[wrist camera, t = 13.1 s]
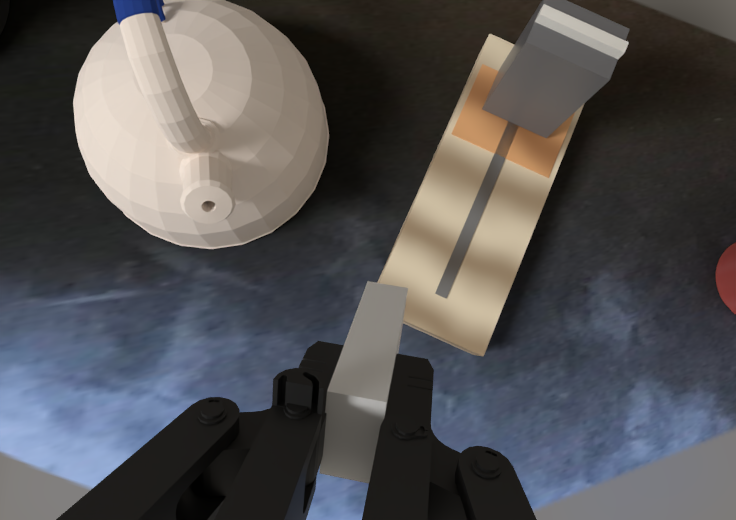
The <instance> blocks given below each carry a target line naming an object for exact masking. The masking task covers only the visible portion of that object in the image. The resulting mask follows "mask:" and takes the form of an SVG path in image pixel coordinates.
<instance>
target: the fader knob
mask: <svg viewBox="0 0 736 520" xmlns="http://www.w3.org/2000/svg"><path fill="white" fill-rule="evenodd" d="M629 30H630V29H629V28H626V27H624V26H622V25H620V24H617V23H615V22H613V21H611V20H609V19H606V18H604V17H602V16H600V15H598V14H595V13H593V12H591V11H589V10H586V9H584V8H582V7H580V6H578V5H575V4H573V3H571V2H569V1H567V0H542V2H541V3H540V5H539V6H538V8H537V10H536V11H535V13H534V14H533V16H532V18H531V19H530V21H529V22H528V24H527V26H526V27H525V29H524V30H523V32H522V34H521V35H520V37H519V39H518V40H517V42H516V43H515V45H514V47H513V48H512V50H511V51H510V53H509V55H508V56H507V58H506V59H505V61H504V63H503V64H502V66H501V67H500V69H499V71H498V73H497V76H496V78H495V80H494V83H493V85H492V87H491V89H490V92H489V94H488V96H487V99H486V101H485V103H484V105H483V108H482V110H485V111H487V112H489V113H491V114H493V115H496V116H498V117H500V118H502V119H505V120H507V121H509V122H511V123H513V124H516V125H518V126H520V127H522V128H524V129H527V130H529V131H531V132H533V133H535V134H538V135H540V136H542V137H544V138H547V137H548V136H549V135H550V134H552V133H553V132H554V131H555V130H556V129H557V128H558V127H559V126H560V125H561V124H562V123H564V122H565V121H566V120H567V119H568V118H569V117H570V116H571V115H572V114H573V113H574V112H575V111H577V110H578V109H579V108H580V107H581V106H582V105H583V104H584V103H585V102H586V101H587V100H589V99H590V98H591V97H592V96H593V95H594V94H595V93H596V92H597V91H598V90H599V89H601V88H602V87H603V86H604V85H605V84H606V83H607V82H608V81H609V80H610V78H611V76H612V73H613V71H614V68H615V65H616V63H617V60H618V59H619V58H620V57H621V56H622V55H623V54H624V53H625V51H626V48H627V46H628V43H629V42H627V41H625V40H626V38H627V35H628V32H629Z"/></svg>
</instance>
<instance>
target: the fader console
mask: <svg viewBox="0 0 736 520" xmlns="http://www.w3.org/2000/svg"><path fill="white" fill-rule="evenodd" d="M513 47H514V44H512V43H510V42H507V41H505V40H503V39H501V38H499V37H496V36H494V35H492V34H489V36H488V38H487V40H486V42H485V44H484V45H483V47H482V49H481V51H480V53H479V56H478V58H477V60H476V62H475V65H474V67H473V69H472V71H471V74H470V76H469V78H468V80H467V83H466V85H465V87H464V89H463V91H462V94H461V96H460V98H459V100H458V103H457V105H456V107H455V109H454V112H453V114H452V116H451V118H450V121H449V123H448V125H447V127H446V130H445V132H444V134H443V136H442V139H441V141H440V143H439V145H438V148H437V150H436V152H435V154H434V157H433V159H432V161H431V163H430V165H429V168H428V170H427V172H426V174H425V177H424V179H423V181H422V183H421V186H420V188H419V190H418V192H417V195H416V197H415V199H414V201H413V204H412V206H411V208H410V210H409V213H408V215H407V217H406V219H405V222H404V224H403V226H402V228H401V231H400V233H399V235H398V237H397V240H396V242H395V244H394V246H393V248H392V251H391V253H390V255H389V257H388V260H387V262H386V264H385V266H384V269H383V271H382V273H381V275H380V278H379V280H378V282H377V283H381V284H387V285H393V286H399V287H405V288H408V292H407V298H406V305H405V311H404V318H403V323H404V324H407V325H409V326H411V327H413V328H415V329H418V330H420V331H422V332H424V333H426V334H429V335H431V336H433V337H435V338H437V339H440V340H442V341H444V342H446V343H449V344H451V345H453V346H455V347H457V348H460V349H462V350H464V351H466V352H468V353H471V354H473V355H478V356H484V354H485V351H486V349H487V346H488V344H489V341H490V339H491V336H492V334H493V331H494V329H495V326H496V324H497V321H498V319H499V316H500V314H501V311H502V309H503V306H504V304H505V301H506V299H507V296H508V294H509V291H510V289H511V286H512V284H513V281H514V278H515V276H516V273H517V271H518V268H519V266H520V263H521V261H522V258H523V256H524V253H525V251H526V248H527V246H528V243H529V241H530V238H531V236H532V233H533V231H534V228H535V226H536V223H537V221H538V218H539V216H540V213H541V211H542V208H543V206H544V203H545V201H546V198H547V196H548V193H549V191H550V188H551V186H552V183H553V181H554V178H555V176H556V173H557V171H558V168H559V166H560V163H561V161H562V158H563V156H564V153H565V151H566V148H567V146H568V143H569V141H570V138H571V136H572V133H573V131H574V128H575V126H576V123H577V121H578V118H579V116H580V113H581V111H582V108H583V106H584V104H583V105H582V106H581V107H580V108H579V109H578V110H577V111H575V112H574V113H573V114H572V115H571V116H570V117H569V118H568V119H567V120H566V121H565V122H564V123H562V124H561V125H560V126H559V127H558V128H557V129H556V130H555V131H554V132H553V133H552V134H550V135H549V136H548V137H547V138H544V137H542V136H540V135H538V134H535V133H533V132H531V131H529V130H527V129H524V128H522V127H520V126H518V125H516V124H513V123H511V122H509V121H507V120H505V119H502V118H500V117H498V116H496V115H493V114H491V113H489V112H487V111H485V110H482V108H483V105H484V103H485V101H486V99H487V96H488V94H489V92H490V89H491V87H492V85H493V83H494V80H495V78H496V76H497V73H498V71H499V69H500V67H501V66H502V64H503V63H504V61H505V59H506V58H507V56H508V55H509V53H510V51H511V50H512V48H513Z"/></svg>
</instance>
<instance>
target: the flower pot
mask: <svg viewBox="0 0 736 520" xmlns="http://www.w3.org/2000/svg"><path fill="white" fill-rule="evenodd" d="M716 284H717V289H718V292H719V294H720V296H721V298H722V300H723V302H724V303H725V304H726V305H727V306H728V307H729V308H730V310H731V311H732V312H733V313H734V314H736V243H734V244H732V245H731V246H729V247H728V248H727V249H726V250H725V251H724V253H723V254H722V255H721V257H720V259H719V261H718V264H717V268H716Z"/></svg>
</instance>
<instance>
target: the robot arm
mask: <svg viewBox="0 0 736 520" xmlns="http://www.w3.org/2000/svg"><path fill="white" fill-rule="evenodd" d="M9 8H10V0H0V35H1V33H2V31H3V29H4V27H5V24H6V21H7V18H8V14H9ZM407 292H408V288H405V287H399V286H393V285H387V284H381V283H375V282H369V281H368V282H367V285H366V287H365V290H364V293H363V295H362V298H361V301H360V304H359V306H358V309H357V312H356V314H355V317H354V320H353V322H352V325H351V328H350V331H349V333H348V336H347V339H346V341H345V344H344V345H338V344H333V343H327V342H321V341H318V342H316V343H315V344H313V345H312V346H311V347H309V348H308V349H307V351H306V353H305V355H304V357H303V360H302V361H301V363H300V365H299V368H294V369H288V370H285V371H283V372H281V373H279V374H278V375H277V376H276V377H275V378H274V379H273V402H272V407H271V408H270V409H267V410H263V411H257V412H240V413H239V408H238V406H237V405H236V403H234V402H233V401H231V400H229V399H226V398H221V397H210V398H206V399H203V400H199V401H198V402H196V403H194V404H193V405H191V406H190V407H189V408H188V409H186V410H185V411H184V412H183V413H182V414H180V415H179V416H178V417H177V418H176V419H175V420H173V421H172V422H171V423H170V424H169V425H167V426H166V427H165V428H164V429H163V430H162V431H160V432H159V433H158V434H157V435H156V436H154V437H153V438H152V439H151V440H150V441H149V442H147V443H146V444H145V445H144V446H143V447H141V448H140V449H139V450H138V451H137V452H136V453H134V454H133V455H132V456H131V457H130V458H128V459H127V460H126V461H125V462H124V463H123V464H121V465H120V466H119V467H118V468H117V469H115V470H114V471H113V472H112V473H111V474H109V475H108V476H107V477H106V478H105V479H104V480H102V481H101V482H100V483H99V484H98V485H96V486H95V487H94V488H93V489H92V490H91V491H89V492H88V493H87V494H86V495H85V496H84V497H82V498H81V499H80V500H79V501H78V502H77V503H75V504H74V505H73V506H72V507H70V508H69V509H68V510H67V511H66V512H65V513H63V514H62V515H61V516H60V517H59V518H58V519H56V520H306V518H307V515H308V511H309V508H310V505H311V502H312V498H313V495H314V492H315V487H316V475H317V472H318V469H319V466H320V473H321V474H326V475H330V476H335V477H340V478H345V479H350V480H355V481H360V482H365V483H369V487H368V492H367V497H366V502H365V507H364V512H363V517H362V520H537V519H536V517H535V515H534V513H533V510H532V508H531V506H530V504H529V501H528V499H527V497H526V495H525V492H524V490H523V488H522V486H521V483H520V481H519V479H518V477H517V474H516V472H515V470H514V468H513V466H512V465H511V463H510V462H509V460H508V459H507V458H506V457H505V456H503V455H502V454H501V453H500V452H498V451H495V450H493V449H491V448H488V447H482V446H474V447H469V448H467V449H465V450H464V451H462V453H459V452H457V451H455V450H453V449H451V448H449V447H447V446H445V445H444V444H443V443H441V442H440V441H439V440H438V439H437V438H436V436H435V435H434V434H433V431H432V429H431V408H432V390H433V373H434V370H433V368H432V366H431V364H430V362H429V361H428V359H424V358H418V357H412V356H407V355H401V354H398V351H399V344H400V338H401V331H402V325H403V318H404V311H405V305H406V298H407Z"/></svg>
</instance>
